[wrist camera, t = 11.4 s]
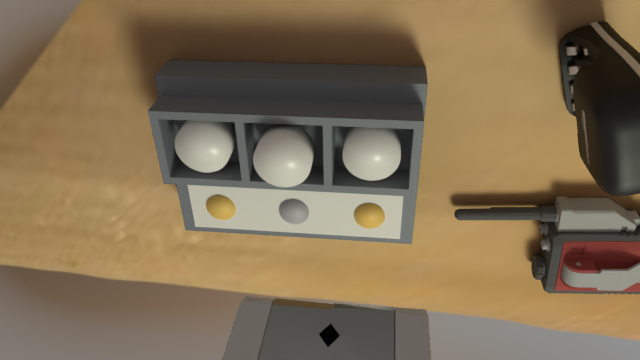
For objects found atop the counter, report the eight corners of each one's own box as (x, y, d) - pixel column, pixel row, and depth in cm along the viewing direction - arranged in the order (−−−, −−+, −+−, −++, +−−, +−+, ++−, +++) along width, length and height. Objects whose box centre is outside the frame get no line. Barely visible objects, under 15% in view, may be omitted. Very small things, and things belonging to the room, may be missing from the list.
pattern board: (425, 66, 39) (429, 100, 34) (411, 221, 47) (412, 265, 42) (169, 59, 41) (140, 90, 36) (196, 208, 49) (175, 249, 44)
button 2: (402, 118, 38) (402, 132, 36) (398, 166, 40) (398, 182, 38) (344, 116, 38) (342, 129, 36) (344, 164, 40) (342, 179, 39)
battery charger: (544, 31, 36) (595, 107, 27) (605, 14, 35) (681, 87, 26) (555, 120, 40) (604, 215, 31) (612, 107, 39) (680, 202, 29)
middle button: (314, 124, 37) (310, 138, 36) (315, 173, 39) (311, 188, 38) (256, 122, 38) (250, 136, 36) (261, 170, 40) (255, 185, 38)
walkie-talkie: (719, 190, 42) (453, 193, 45) (749, 226, 38) (458, 227, 41) (687, 274, 47) (450, 271, 50) (712, 313, 43) (454, 308, 46)
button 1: (233, 112, 39) (226, 125, 37) (239, 159, 41) (232, 173, 40) (179, 109, 39) (170, 123, 38) (188, 157, 42) (179, 171, 40)
